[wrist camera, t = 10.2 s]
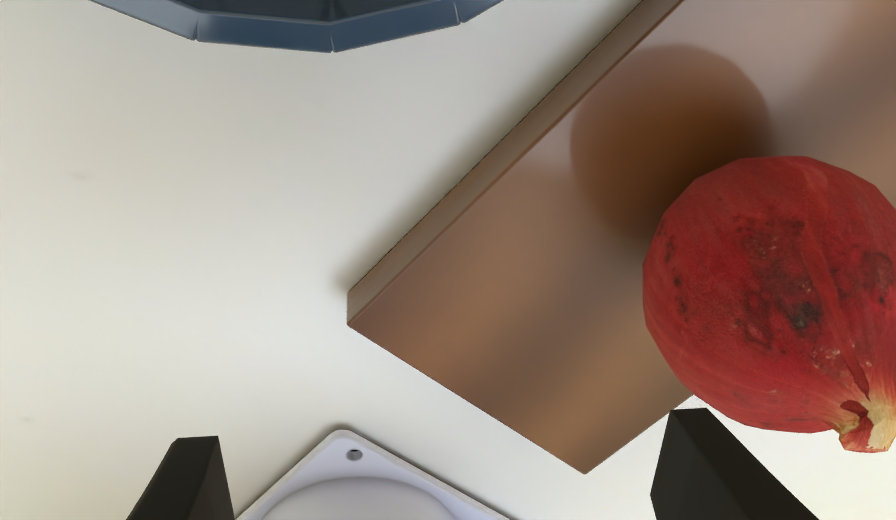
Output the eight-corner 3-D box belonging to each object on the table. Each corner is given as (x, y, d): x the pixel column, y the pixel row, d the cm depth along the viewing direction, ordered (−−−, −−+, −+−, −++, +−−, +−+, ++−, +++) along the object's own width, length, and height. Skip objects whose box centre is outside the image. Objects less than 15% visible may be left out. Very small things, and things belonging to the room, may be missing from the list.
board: (1077, 56, 21) (1123, 76, 20) (574, 442, 27) (585, 476, 26) (894, -252, 17) (938, -250, 15) (346, 293, 23) (345, 325, 22)
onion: (568, 173, 20) (678, 399, 13) (791, 57, 19) (1035, 239, 12) (649, 328, 23) (771, 574, 16) (845, 237, 22) (1063, 461, 15)
